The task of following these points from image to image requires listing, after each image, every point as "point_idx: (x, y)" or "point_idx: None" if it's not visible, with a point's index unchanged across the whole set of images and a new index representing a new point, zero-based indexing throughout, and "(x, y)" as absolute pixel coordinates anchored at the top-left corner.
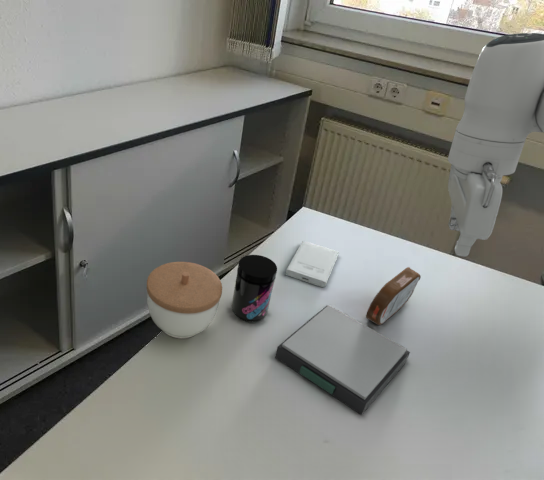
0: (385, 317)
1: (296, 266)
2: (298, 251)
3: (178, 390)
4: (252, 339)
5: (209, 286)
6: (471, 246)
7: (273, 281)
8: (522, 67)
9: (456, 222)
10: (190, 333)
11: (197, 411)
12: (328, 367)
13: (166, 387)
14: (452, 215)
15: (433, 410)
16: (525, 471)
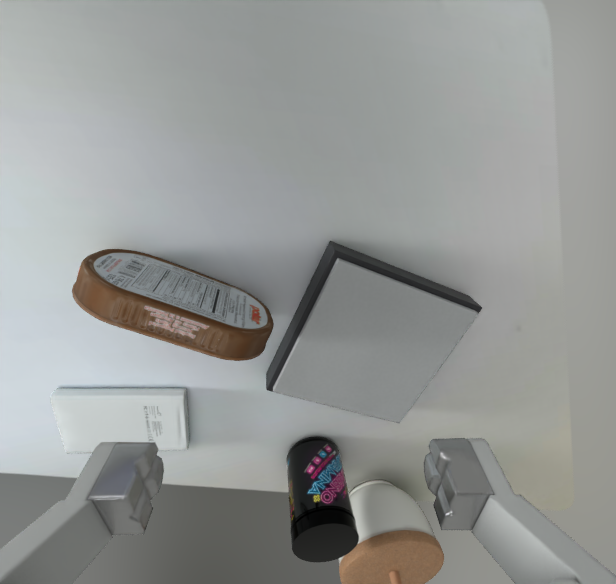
0: (232, 293)
1: (167, 442)
2: None
3: None
4: (367, 434)
5: (391, 555)
6: (521, 496)
7: (331, 504)
8: None
9: (138, 502)
10: (413, 499)
11: (496, 442)
12: (429, 366)
13: None
14: (99, 547)
15: (434, 190)
16: (543, 19)
